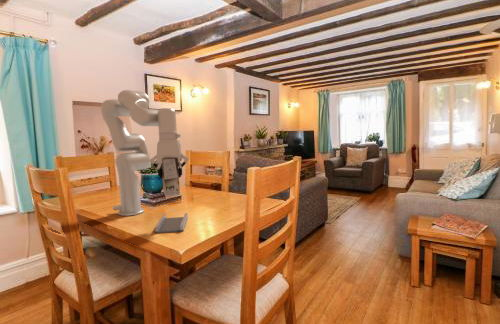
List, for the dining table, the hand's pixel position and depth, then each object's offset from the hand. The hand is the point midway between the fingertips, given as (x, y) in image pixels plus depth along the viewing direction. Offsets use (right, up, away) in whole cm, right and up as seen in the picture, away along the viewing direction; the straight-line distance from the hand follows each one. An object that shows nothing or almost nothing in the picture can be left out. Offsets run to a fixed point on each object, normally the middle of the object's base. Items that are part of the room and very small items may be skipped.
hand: (170, 177), depth 122 cm
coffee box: (0, -8, +1) cm, 8 cm away
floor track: (0, -22, +2) cm, 22 cm away
